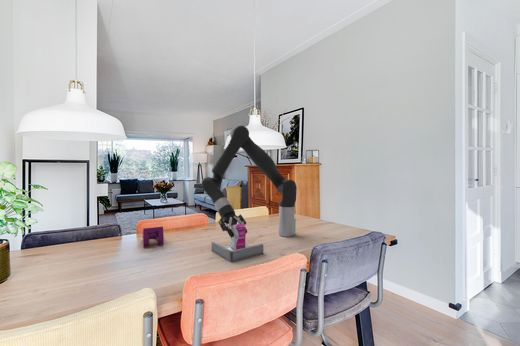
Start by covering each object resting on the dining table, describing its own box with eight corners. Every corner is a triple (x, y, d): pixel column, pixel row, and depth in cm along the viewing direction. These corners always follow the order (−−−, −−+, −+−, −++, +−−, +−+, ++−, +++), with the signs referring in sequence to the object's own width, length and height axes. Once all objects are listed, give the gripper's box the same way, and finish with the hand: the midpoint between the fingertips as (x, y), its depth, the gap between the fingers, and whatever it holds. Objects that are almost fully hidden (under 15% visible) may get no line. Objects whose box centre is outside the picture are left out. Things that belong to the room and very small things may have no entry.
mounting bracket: (142, 251, 145) (143, 245, 130) (142, 235, 148) (143, 228, 133) (160, 248, 149) (163, 242, 134) (160, 233, 152) (163, 226, 137)
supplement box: (234, 251, 125) (234, 227, 124) (230, 247, 130) (230, 224, 130) (245, 249, 127) (245, 226, 127) (241, 246, 133) (241, 223, 132)
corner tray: (242, 244, 139) (242, 235, 139) (263, 253, 125) (263, 244, 124) (211, 250, 128) (211, 241, 128) (230, 262, 114) (230, 252, 114)
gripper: (216, 205, 127) (232, 233, 120) (238, 202, 138) (253, 227, 131) (210, 214, 131) (224, 242, 124) (231, 211, 142) (246, 236, 134)
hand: (239, 234), depth 127 cm, fingers open, 8 cm apart
